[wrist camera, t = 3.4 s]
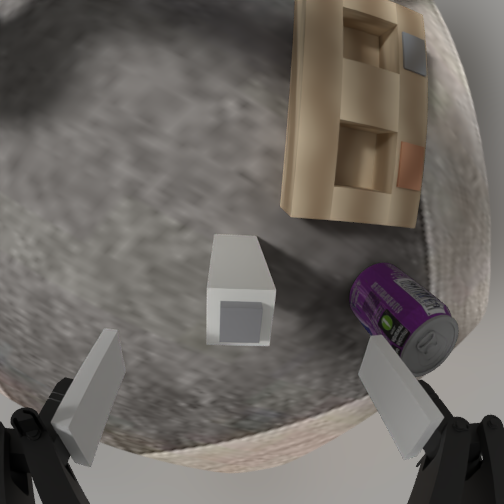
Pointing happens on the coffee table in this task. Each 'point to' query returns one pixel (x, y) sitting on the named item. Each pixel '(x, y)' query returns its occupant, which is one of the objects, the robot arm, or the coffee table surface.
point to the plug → (239, 293)
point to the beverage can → (404, 317)
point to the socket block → (356, 113)
